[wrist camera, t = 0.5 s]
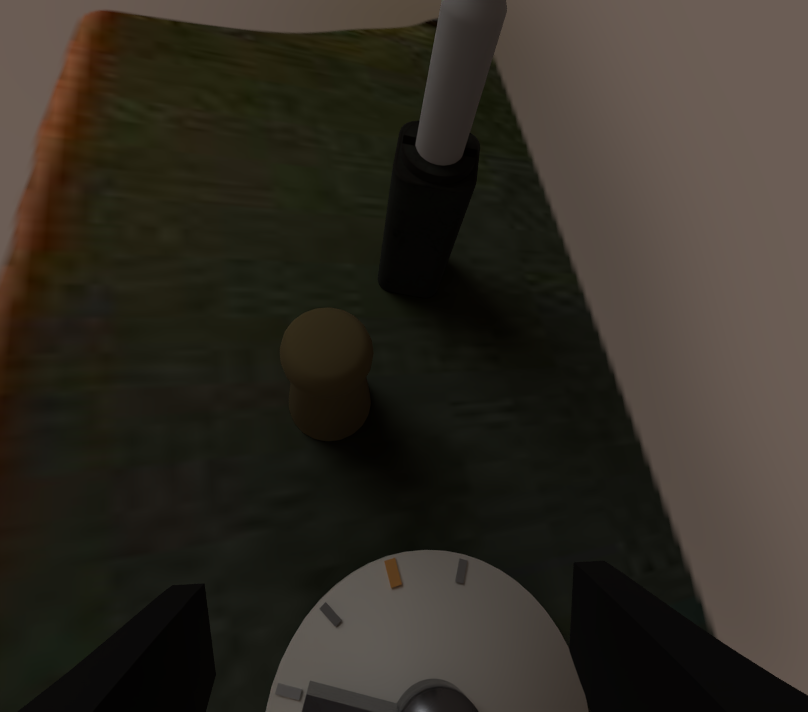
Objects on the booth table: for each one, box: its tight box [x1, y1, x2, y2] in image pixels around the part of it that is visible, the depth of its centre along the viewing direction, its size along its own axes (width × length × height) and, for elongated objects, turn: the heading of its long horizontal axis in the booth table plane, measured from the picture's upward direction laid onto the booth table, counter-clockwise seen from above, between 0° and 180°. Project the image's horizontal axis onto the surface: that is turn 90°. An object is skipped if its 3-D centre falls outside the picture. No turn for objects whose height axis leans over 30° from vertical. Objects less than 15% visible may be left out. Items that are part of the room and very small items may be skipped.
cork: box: [280, 308, 373, 441], centre depth 31 cm, size 6×6×11 cm
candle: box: [378, 0, 507, 298], centre depth 30 cm, size 5×5×25 cm
